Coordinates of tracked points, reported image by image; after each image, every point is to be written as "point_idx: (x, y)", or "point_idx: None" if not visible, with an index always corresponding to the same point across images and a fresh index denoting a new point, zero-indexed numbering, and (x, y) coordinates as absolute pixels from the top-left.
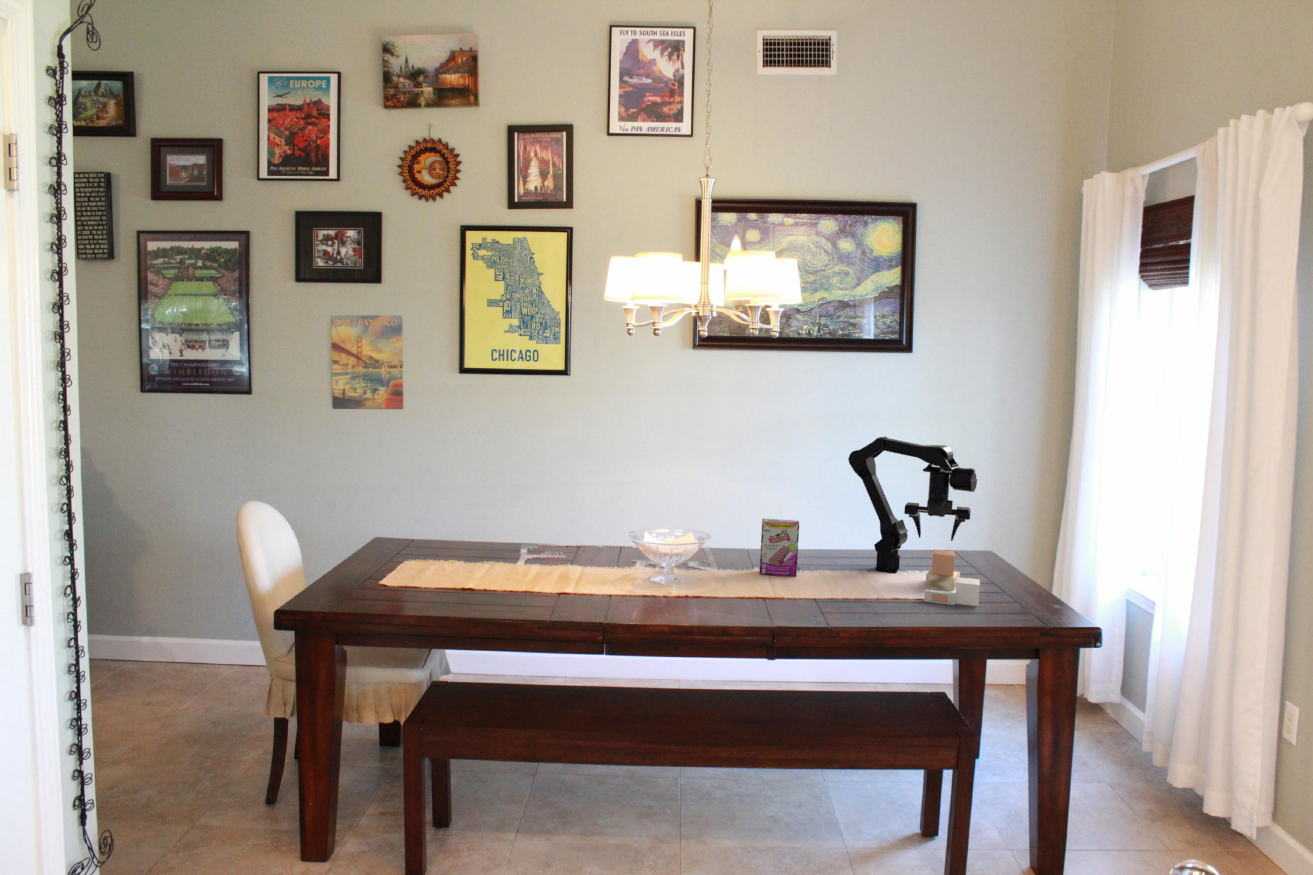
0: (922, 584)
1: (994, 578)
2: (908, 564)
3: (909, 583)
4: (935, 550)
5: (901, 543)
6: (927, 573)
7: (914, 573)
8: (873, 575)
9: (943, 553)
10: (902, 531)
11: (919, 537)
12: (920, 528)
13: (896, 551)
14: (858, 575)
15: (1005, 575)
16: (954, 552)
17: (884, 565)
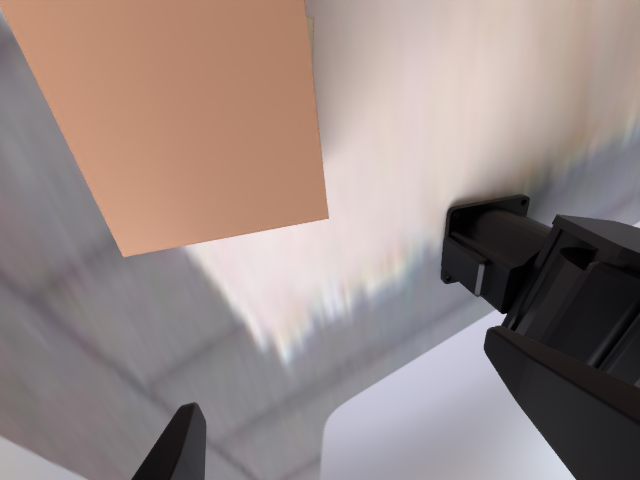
0: (321, 67)
1: (72, 369)
2: (407, 346)
3: (385, 48)
4: (307, 187)
5: (542, 299)
6: (308, 36)
7: (379, 249)
8: (538, 113)
9: (193, 84)
10: (633, 365)
11: (496, 326)
12: (562, 430)
13: (513, 282)
14: (601, 72)
15: (60, 427)
16: (110, 218)
17: (511, 213)
